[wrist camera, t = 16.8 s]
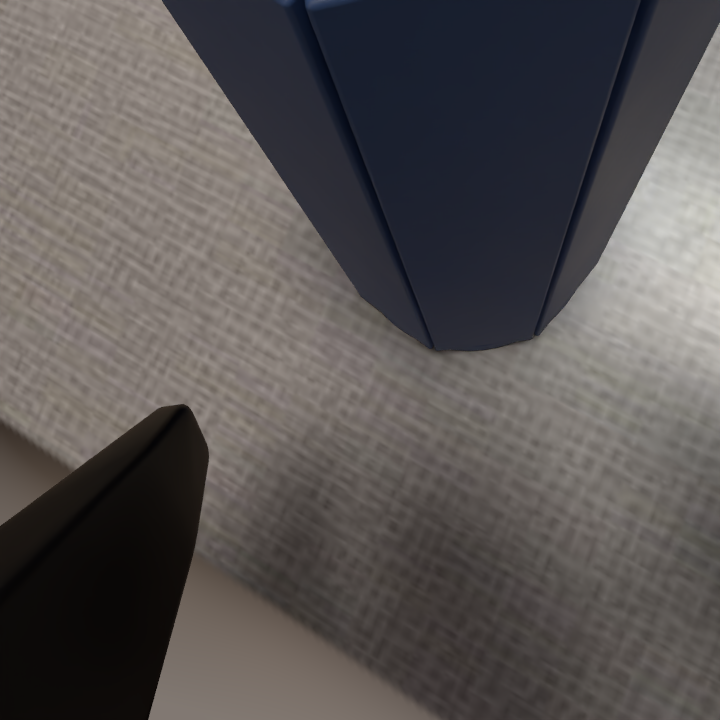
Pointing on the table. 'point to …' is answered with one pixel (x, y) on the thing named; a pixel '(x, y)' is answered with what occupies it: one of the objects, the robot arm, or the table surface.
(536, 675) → the table surface
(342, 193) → the measuring cup
